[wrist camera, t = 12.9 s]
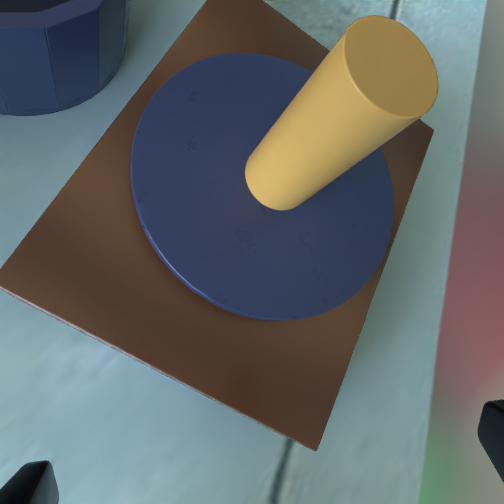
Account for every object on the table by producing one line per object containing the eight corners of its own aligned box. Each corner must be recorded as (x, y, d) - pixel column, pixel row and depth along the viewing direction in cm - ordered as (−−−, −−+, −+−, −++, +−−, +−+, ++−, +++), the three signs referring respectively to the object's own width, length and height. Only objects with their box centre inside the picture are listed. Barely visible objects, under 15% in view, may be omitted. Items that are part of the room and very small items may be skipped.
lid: (250, 384, 15) (395, 419, 8) (64, 139, 15) (26, -74, 7) (419, 223, 20) (611, 147, 12) (280, 33, 19) (392, -164, 12)
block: (275, 432, 19) (317, 452, 15) (14, 297, 17) (-12, 282, 13) (386, 161, 25) (434, 130, 21) (207, 33, 23) (227, -28, 19)
